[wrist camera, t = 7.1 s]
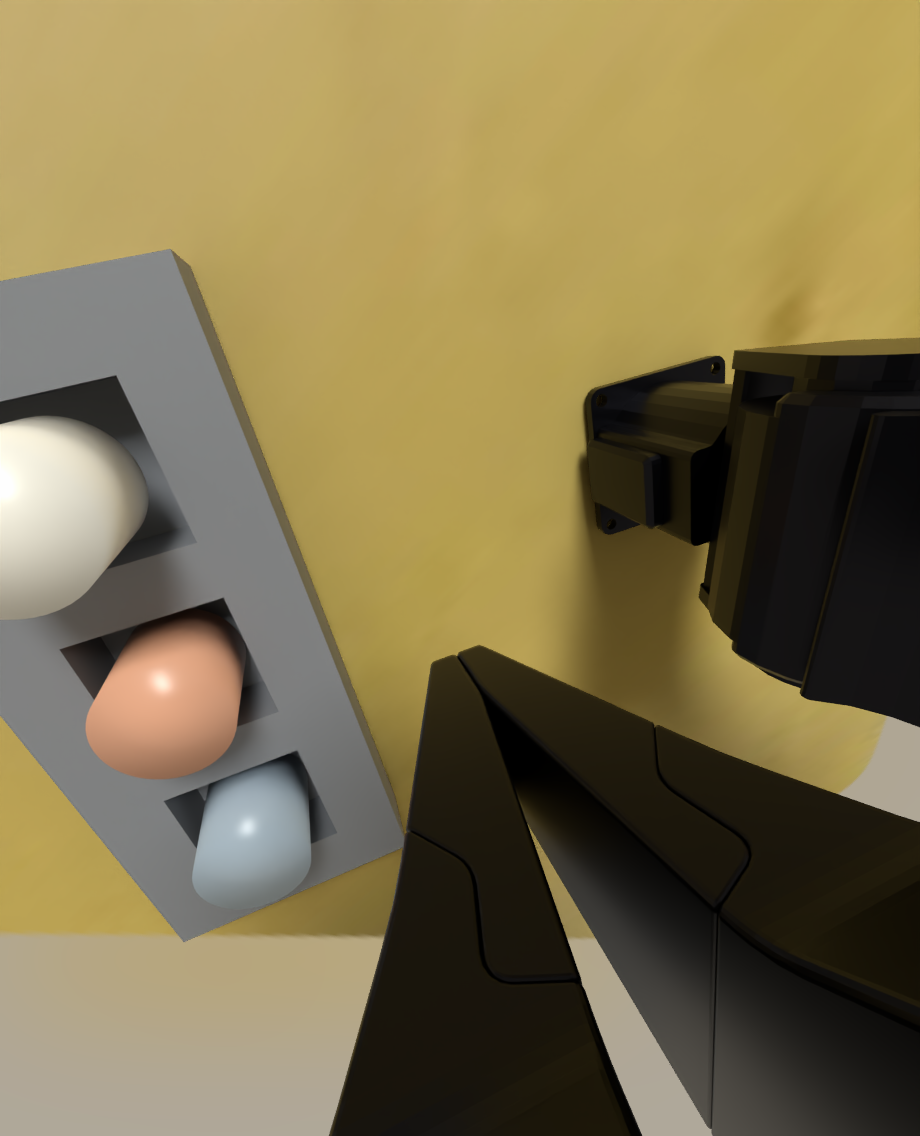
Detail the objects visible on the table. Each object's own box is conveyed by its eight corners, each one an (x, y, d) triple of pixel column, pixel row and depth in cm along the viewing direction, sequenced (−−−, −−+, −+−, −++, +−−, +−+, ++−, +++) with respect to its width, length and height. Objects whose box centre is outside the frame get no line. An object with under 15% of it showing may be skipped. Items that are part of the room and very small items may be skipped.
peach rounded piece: (220, 593, 18) (204, 651, 15) (262, 679, 20) (256, 749, 17) (102, 630, 18) (56, 700, 14) (156, 716, 19) (127, 797, 16)
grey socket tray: (190, 266, 16) (170, 248, 13) (394, 795, 26) (407, 845, 24) (-192, 341, 14) (-306, 338, 11) (195, 878, 24) (183, 942, 22)
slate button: (289, 735, 21) (289, 810, 18) (319, 799, 23) (325, 879, 20) (191, 771, 21) (171, 857, 17) (230, 834, 22) (220, 924, 19)
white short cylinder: (105, 399, 14) (43, 415, 10) (173, 533, 15) (139, 586, 12) (-61, 438, 13) (-190, 470, 9) (30, 574, 15) (-51, 644, 11)
